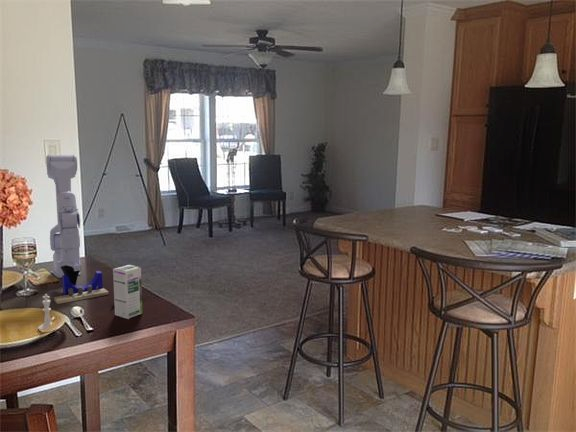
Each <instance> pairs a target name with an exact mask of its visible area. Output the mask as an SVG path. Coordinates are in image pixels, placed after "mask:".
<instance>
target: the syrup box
mask: <svg viewBox="0 0 576 432" xmlns="http://www.w3.org/2000/svg"><path fill="white" fill-rule="evenodd" d="M112 275H113V276H112V278H113V297H114V302H113V303H114V315H115V316H117V317H120V318H123V319H126V320H130V319H131V318H134V317H137V316H138V315H142V314H143V292H142V290H143V288H142V285H143V284H142V267H140V266H137V265H133V264H126V265H122V266H119V267H115V268H113V269H112Z"/></svg>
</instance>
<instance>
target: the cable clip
mask: <svg viewBox="0 0 576 432" xmlns="http://www.w3.org/2000/svg"><path fill="white" fill-rule="evenodd" d="M61 283H62V294H63V296H64V295H68V289H70V288H72V289H73V294H75V293H78V287H83V292H87V286H88V285H92V290H98V289H104V287H103V272H102V271H100V270H95V272H94V276H93V278H92V279H91V281H90V282H89V283H87V284H84V285H77V284H76V285H73V284H72V283H71V282H70V281H69V277H68V275H62V281H61Z"/></svg>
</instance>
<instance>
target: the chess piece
mask: <svg viewBox="0 0 576 432" xmlns="http://www.w3.org/2000/svg"><path fill="white" fill-rule="evenodd" d="M42 299H44V300H42V305H43V309H42V312H44V319H43V320H44V322H43V323H42V324H41V325H39V326H38V327H37V330H38V329H39V330H46V329H48V328H49V327H50V326H51V325H52V323H53V322H52V321H51V316H50V311H51V310H52V308H51V307H50V306H51V305H50V304H51V298H50V296H49V295H48V293H45V294H44V295H43V296H42Z"/></svg>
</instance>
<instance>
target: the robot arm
mask: <svg viewBox="0 0 576 432" xmlns="http://www.w3.org/2000/svg"><path fill="white" fill-rule="evenodd" d="M45 159H46V161H45V165H46V174H47V177H48V178H49V179H51V180H53V182H54V184H55V185H54V186H55V196H56V197H55V199H56V200H55V201H56V213H57V215H56V216H57V217H56V218H57V224H56V225H54V226H53V227H52V228H51V229H50V231H49V244H50V250H51V251H54V252H53V256H52V260H53V261H52V263H53V265H52V266H53V270H51V271H50V272H51V274H53V275H54V276H55V277H56V278H58V279H61V278H62V275H68V277H69V281H70V282H71V283H72V284H73V285H76V286H77V282H78V277H79V276H81V274H82V273H81V271H82V264H81V258H80V257H81V256H80V248H81V239H80V237H81V236H80V230H79V229H80V228H81V216H80V212H79V208H78V207H77V200H76V195H75V194H74V193H72V179H74V178H76V175H77V171H78V158H77V156H76V155H75V154H72V155H71V154H69V155H68V154H61V155H59V154H58V155H57V154H56V155H55V154H47V155H46V158H45Z"/></svg>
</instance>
